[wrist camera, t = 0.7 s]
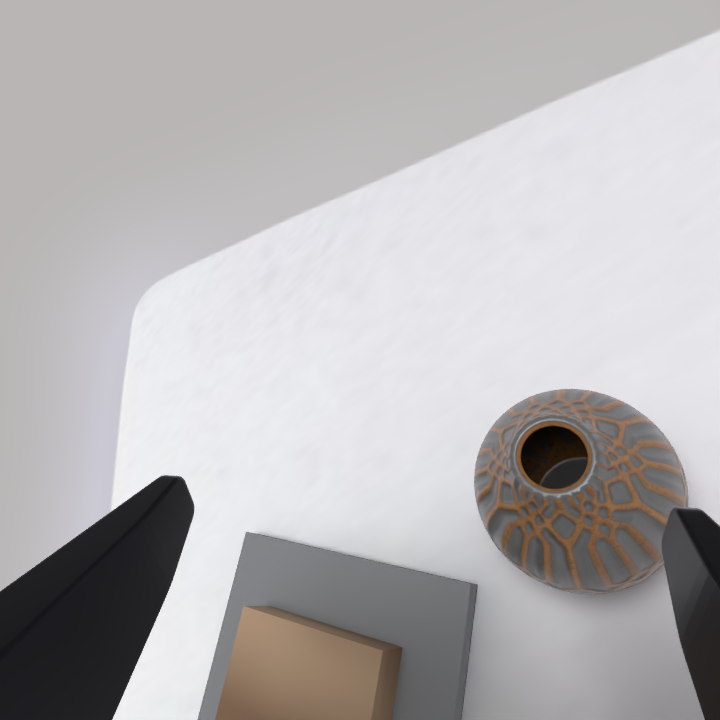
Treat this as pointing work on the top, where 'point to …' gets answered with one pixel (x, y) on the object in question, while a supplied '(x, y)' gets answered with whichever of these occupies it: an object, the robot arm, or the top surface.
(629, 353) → the top surface
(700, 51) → the top surface
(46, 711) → the robot arm
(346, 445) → the top surface
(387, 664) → the lid
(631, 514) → the vase
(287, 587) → the mat
